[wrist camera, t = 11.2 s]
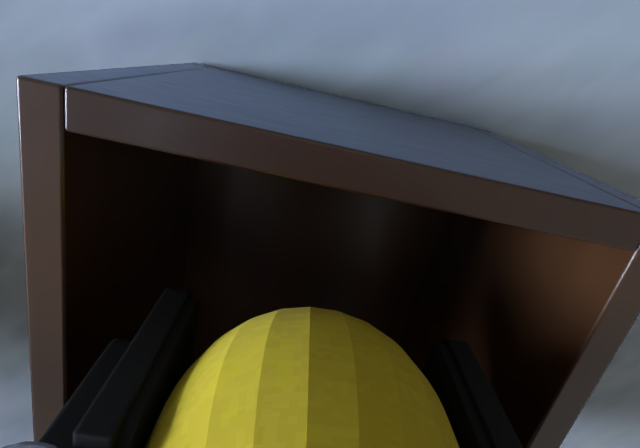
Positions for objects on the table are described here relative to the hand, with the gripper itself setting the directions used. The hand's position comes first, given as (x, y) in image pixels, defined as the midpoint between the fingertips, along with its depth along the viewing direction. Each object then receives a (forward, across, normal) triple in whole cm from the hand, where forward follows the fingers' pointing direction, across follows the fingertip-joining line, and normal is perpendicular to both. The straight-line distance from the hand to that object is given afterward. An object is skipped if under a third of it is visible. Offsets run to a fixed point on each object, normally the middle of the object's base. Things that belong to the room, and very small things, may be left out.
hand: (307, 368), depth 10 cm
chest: (+10, 0, +2) cm, 11 cm away
